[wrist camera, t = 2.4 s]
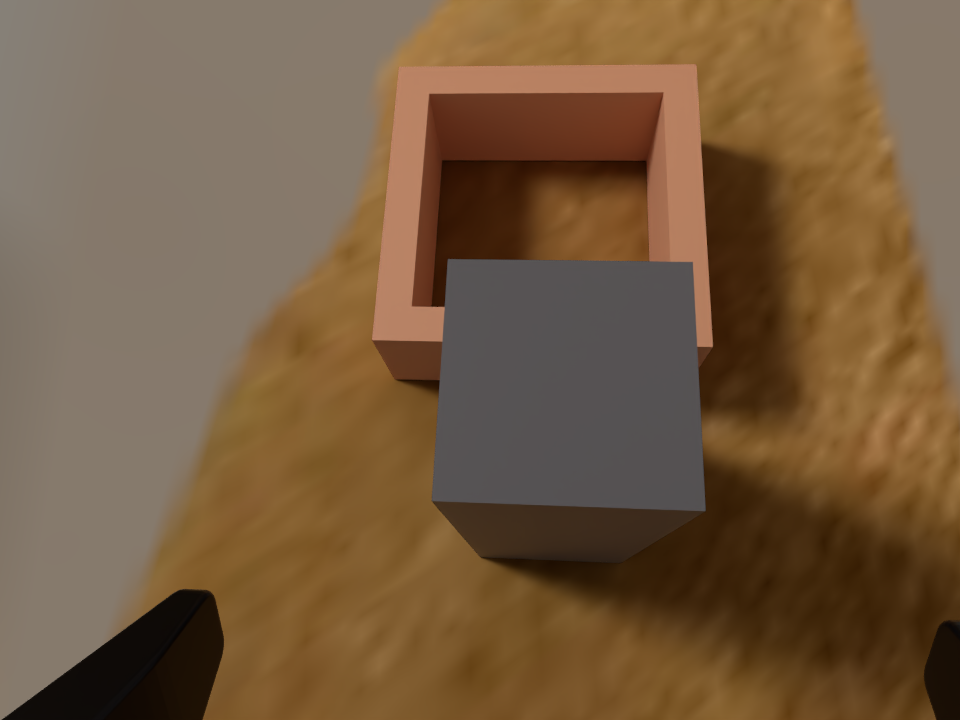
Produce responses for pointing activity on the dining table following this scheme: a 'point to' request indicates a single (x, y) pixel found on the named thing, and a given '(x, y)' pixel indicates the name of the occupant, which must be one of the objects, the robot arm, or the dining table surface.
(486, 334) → the plug
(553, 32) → the dining table surface
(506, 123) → the socket
